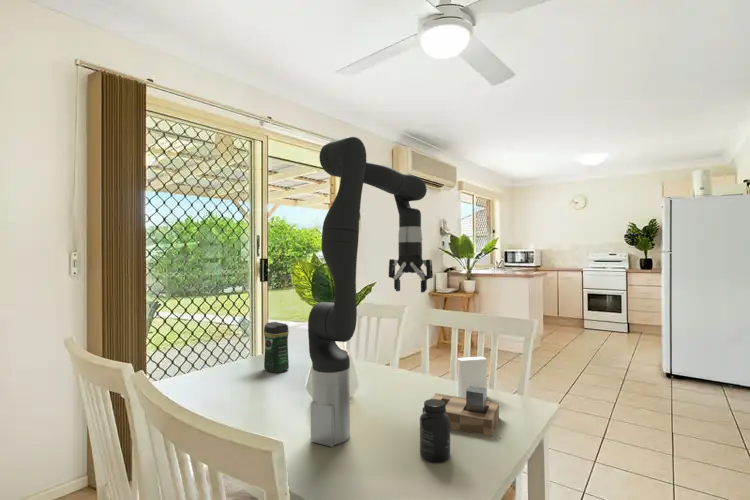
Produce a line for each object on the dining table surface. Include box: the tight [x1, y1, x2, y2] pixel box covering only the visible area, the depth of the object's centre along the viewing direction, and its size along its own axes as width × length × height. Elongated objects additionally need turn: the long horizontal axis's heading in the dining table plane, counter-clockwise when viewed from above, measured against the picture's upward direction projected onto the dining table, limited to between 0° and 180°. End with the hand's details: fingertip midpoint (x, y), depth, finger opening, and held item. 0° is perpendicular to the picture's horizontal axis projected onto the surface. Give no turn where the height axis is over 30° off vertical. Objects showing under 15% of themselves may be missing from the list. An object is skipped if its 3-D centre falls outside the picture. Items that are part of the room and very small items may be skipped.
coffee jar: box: [263, 321, 290, 373], centre depth 152 cm, size 10×8×19 cm
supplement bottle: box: [419, 398, 451, 464], centre depth 87 cm, size 7×7×12 cm
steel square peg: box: [466, 386, 487, 414], centre depth 104 cm, size 4×4×9 cm
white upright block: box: [457, 356, 488, 398], centre depth 123 cm, size 9×9×12 cm
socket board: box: [422, 393, 500, 437], centre depth 106 cm, size 12×18×4 cm, turn 64°
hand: (410, 291), depth 125 cm, fingers open, 8 cm apart
